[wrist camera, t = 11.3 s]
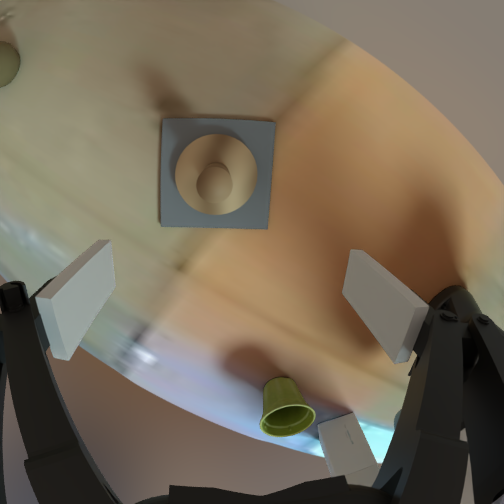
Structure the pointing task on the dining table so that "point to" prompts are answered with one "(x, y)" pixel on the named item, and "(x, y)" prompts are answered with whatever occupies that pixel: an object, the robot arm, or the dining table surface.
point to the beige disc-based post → (216, 174)
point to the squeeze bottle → (8, 63)
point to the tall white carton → (348, 450)
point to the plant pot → (284, 409)
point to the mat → (189, 129)
